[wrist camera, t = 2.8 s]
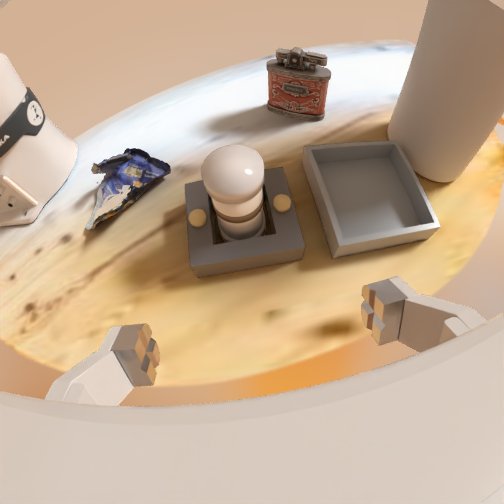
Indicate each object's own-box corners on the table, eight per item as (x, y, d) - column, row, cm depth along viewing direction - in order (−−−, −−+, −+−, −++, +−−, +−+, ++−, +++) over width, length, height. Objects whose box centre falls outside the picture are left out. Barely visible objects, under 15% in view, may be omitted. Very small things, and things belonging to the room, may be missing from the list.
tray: (332, 258, 27) (339, 246, 24) (301, 163, 31) (304, 146, 29) (428, 239, 27) (440, 226, 24) (389, 156, 32) (396, 140, 29)
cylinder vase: (436, 200, 29) (538, 37, 6) (368, 135, 33) (414, -36, 10) (470, 164, 31) (543, 41, 8) (413, 111, 36) (457, -18, 13)
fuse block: (198, 277, 27) (188, 264, 23) (191, 200, 30) (183, 180, 27) (301, 259, 27) (306, 243, 24) (281, 184, 30) (282, 163, 27)
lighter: (264, 112, 36) (262, 51, 26) (271, 99, 37) (270, 41, 28) (322, 124, 34) (331, 62, 25) (325, 110, 35) (335, 51, 26)
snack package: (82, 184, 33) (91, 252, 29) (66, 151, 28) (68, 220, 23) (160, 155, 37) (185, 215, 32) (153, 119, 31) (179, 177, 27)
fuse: (223, 252, 28) (203, 198, 19) (217, 212, 30) (199, 150, 21) (269, 243, 28) (269, 186, 19) (261, 204, 30) (257, 140, 21)
